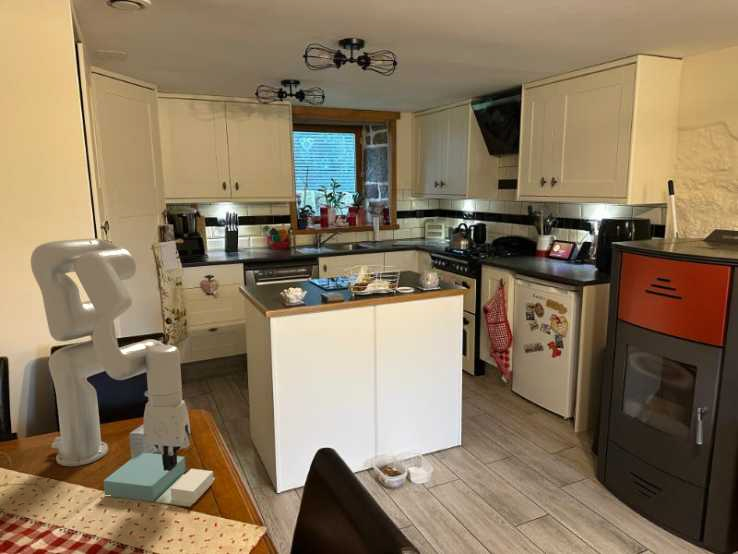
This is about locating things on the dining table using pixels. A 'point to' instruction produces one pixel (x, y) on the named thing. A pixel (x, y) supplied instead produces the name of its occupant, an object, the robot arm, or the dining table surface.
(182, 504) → the mat
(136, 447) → the medicine box
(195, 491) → the white rectangular block
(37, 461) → the dining table surface
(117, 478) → the block
